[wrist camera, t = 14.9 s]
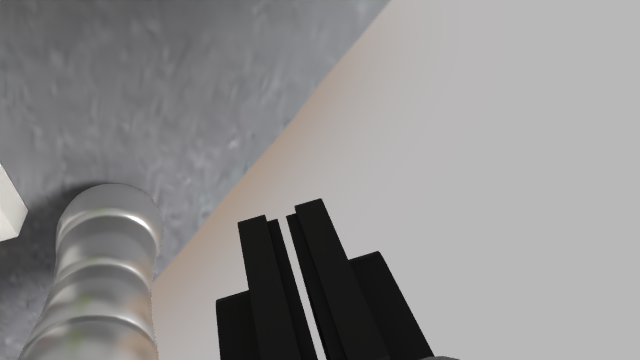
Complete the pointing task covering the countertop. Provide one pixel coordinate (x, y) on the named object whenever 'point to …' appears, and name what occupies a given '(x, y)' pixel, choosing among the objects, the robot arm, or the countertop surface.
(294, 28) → the countertop surface
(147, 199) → the plastic bottle
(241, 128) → the countertop surface
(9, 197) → the breaker panel
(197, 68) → the countertop surface
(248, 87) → the countertop surface
